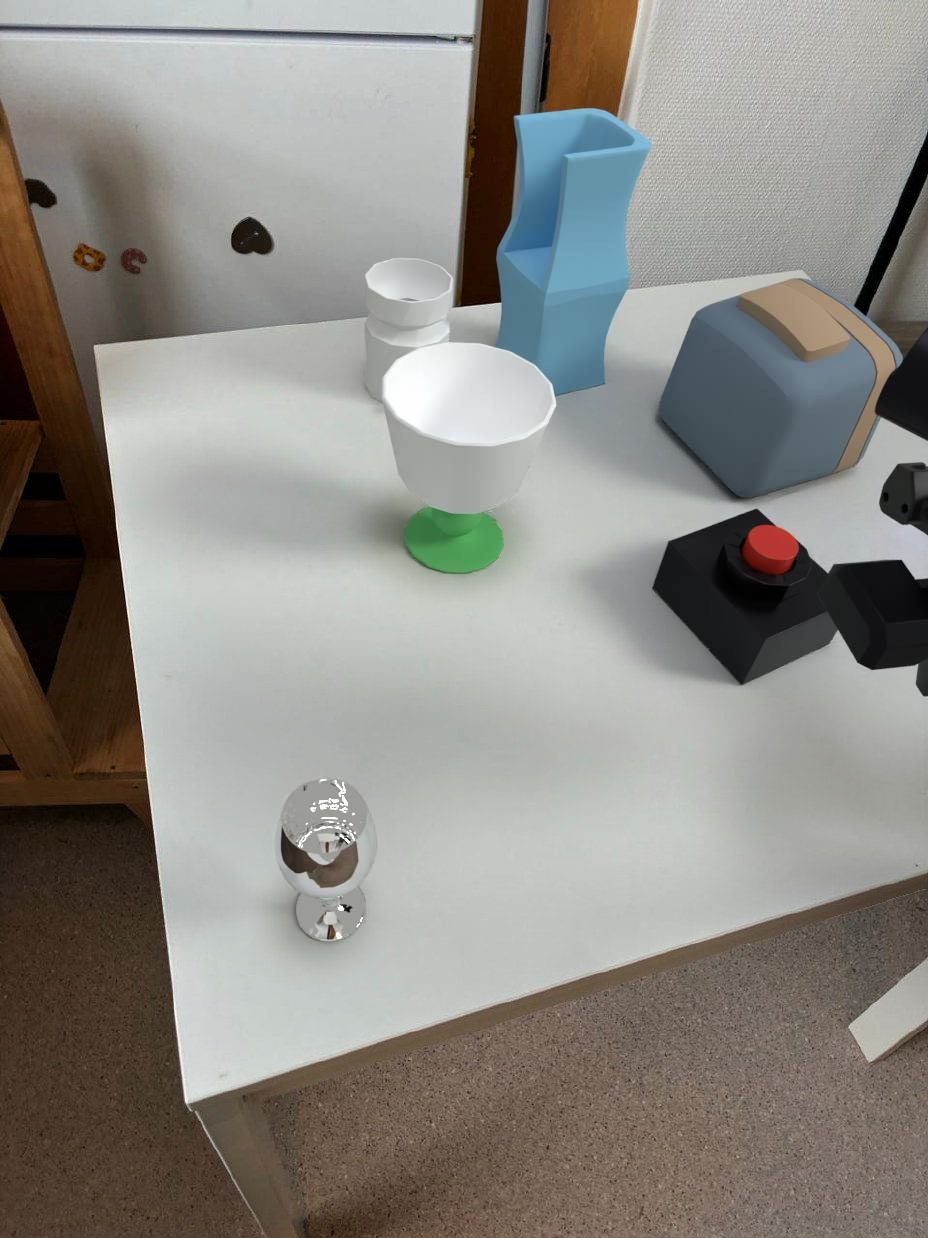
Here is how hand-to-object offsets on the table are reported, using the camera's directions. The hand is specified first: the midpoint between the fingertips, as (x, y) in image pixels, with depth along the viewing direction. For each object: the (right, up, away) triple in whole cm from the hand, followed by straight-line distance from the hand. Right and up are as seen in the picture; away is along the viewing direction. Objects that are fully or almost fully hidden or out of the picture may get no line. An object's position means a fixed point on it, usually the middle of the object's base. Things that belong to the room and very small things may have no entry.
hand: (924, 690), depth 57 cm
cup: (-30, +12, +25) cm, 41 cm away
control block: (-5, +5, +21) cm, 22 cm away
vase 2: (-20, +32, +44) cm, 58 cm away
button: (-5, +10, +16) cm, 19 cm away
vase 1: (-35, +30, +40) cm, 61 cm away
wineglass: (-38, -14, +1) cm, 40 cm away
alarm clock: (+1, +23, +38) cm, 44 cm away
